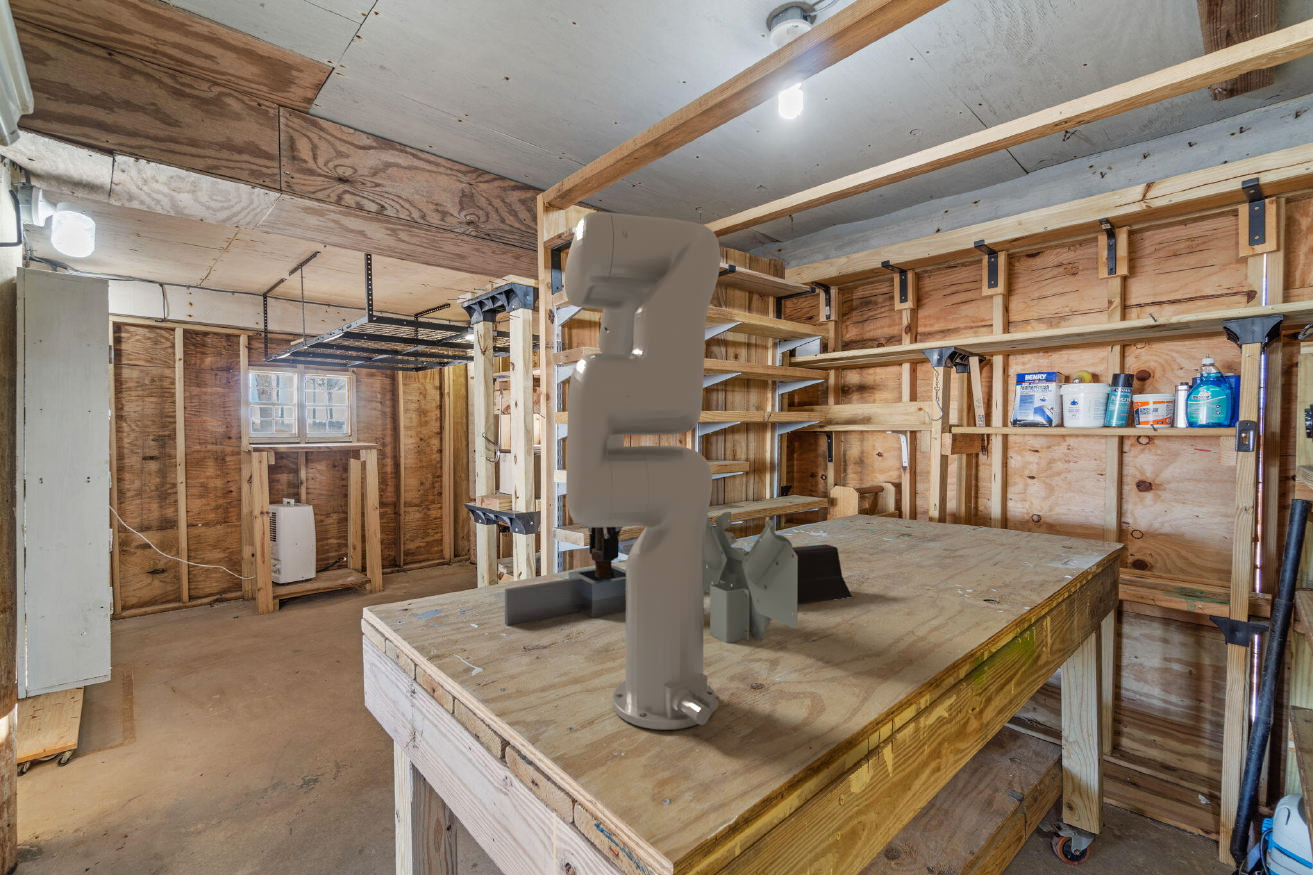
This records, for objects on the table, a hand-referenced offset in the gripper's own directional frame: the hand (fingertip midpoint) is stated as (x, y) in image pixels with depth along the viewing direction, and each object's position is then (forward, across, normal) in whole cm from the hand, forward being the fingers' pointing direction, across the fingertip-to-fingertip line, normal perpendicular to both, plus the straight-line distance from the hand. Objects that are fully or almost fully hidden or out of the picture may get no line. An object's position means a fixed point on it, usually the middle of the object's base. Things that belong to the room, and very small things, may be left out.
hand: (603, 555), depth 107 cm
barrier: (+10, -16, -34) cm, 39 cm away
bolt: (+5, 0, 0) cm, 5 cm away
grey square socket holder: (+10, 0, 0) cm, 10 cm away
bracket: (+10, -25, -11) cm, 29 cm away
